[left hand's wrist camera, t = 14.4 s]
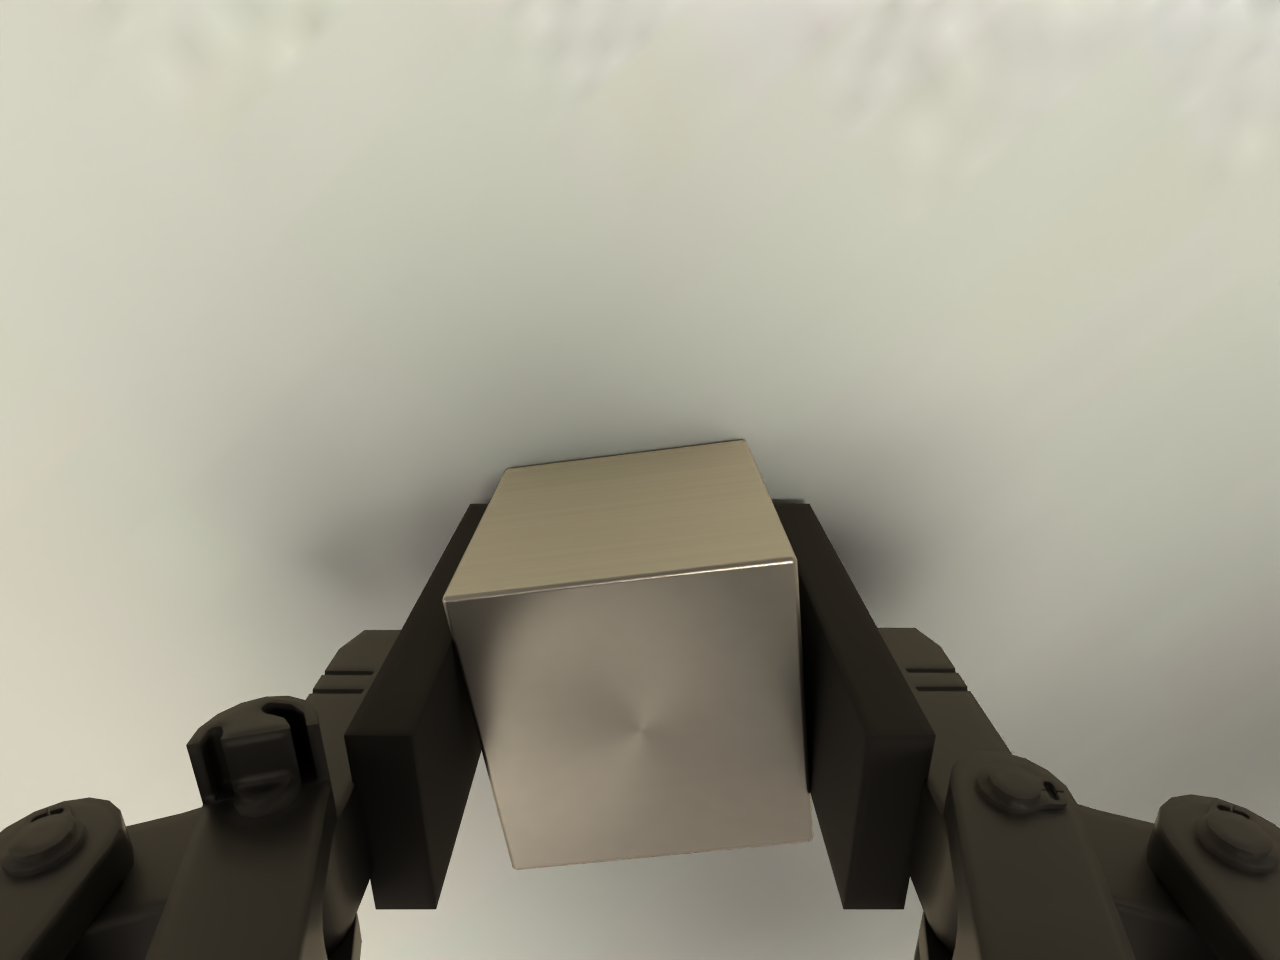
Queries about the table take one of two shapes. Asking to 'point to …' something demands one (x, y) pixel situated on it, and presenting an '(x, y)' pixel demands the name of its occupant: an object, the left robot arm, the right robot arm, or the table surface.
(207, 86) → the table surface
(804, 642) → the left robot arm
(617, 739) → the metal cube
